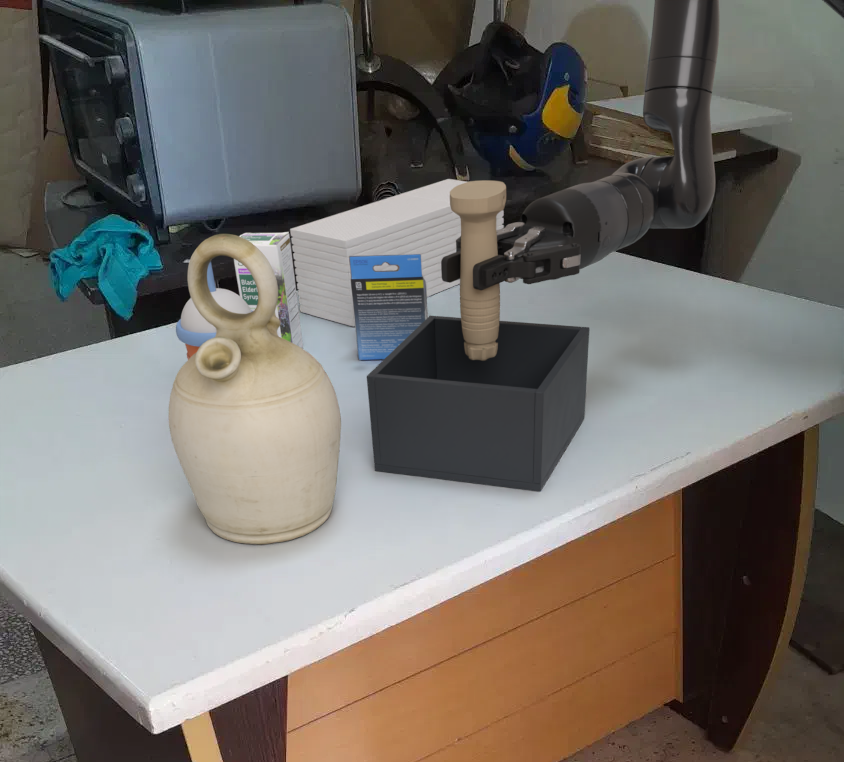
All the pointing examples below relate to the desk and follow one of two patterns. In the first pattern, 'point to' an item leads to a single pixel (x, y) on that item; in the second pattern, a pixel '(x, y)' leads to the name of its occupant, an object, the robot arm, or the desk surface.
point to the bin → (479, 403)
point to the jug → (253, 414)
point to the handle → (477, 245)
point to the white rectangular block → (375, 246)
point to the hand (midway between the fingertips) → (460, 274)
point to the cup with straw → (198, 329)
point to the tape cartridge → (386, 302)
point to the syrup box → (281, 262)
